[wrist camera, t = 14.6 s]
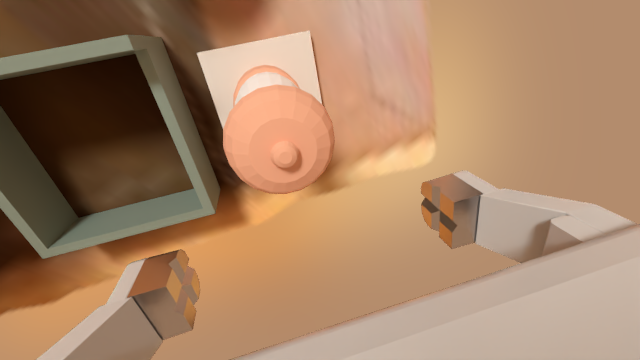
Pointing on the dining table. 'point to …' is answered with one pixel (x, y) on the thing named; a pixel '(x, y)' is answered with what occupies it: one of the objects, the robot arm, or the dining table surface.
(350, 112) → the dining table surface
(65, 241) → the grey open box
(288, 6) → the dining table surface
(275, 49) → the ceramic tile
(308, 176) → the pepper shaker
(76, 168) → the dining table surface
